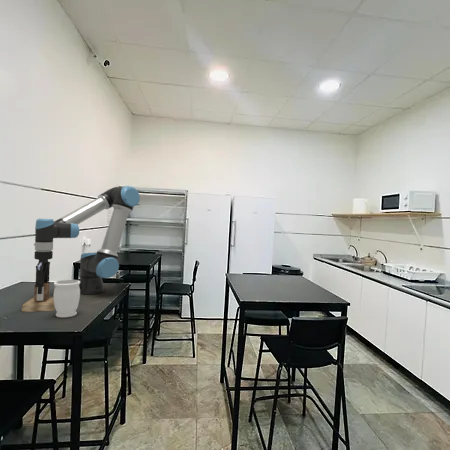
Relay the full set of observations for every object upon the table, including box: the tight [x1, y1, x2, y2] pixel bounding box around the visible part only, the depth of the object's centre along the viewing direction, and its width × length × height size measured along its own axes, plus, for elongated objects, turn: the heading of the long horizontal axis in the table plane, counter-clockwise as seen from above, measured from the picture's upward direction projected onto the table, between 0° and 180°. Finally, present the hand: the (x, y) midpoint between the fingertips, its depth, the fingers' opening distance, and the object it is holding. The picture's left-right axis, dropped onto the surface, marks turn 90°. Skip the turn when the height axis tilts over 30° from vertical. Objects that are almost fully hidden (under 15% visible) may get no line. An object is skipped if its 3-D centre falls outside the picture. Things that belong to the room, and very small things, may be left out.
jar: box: [53, 279, 81, 318], centre depth 137 cm, size 11×10×15 cm
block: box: [33, 283, 50, 302], centre depth 147 cm, size 5×5×8 cm
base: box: [21, 296, 56, 313], centre depth 147 cm, size 13×14×3 cm
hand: (41, 298), depth 147 cm, fingers closed on block, 5 cm apart
